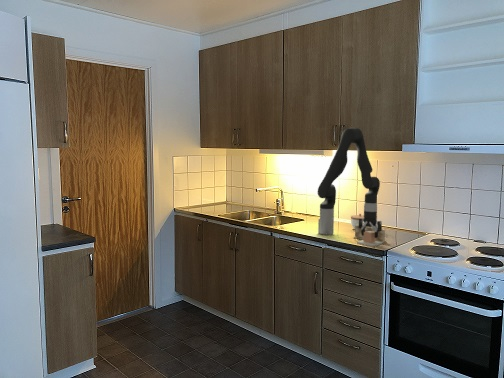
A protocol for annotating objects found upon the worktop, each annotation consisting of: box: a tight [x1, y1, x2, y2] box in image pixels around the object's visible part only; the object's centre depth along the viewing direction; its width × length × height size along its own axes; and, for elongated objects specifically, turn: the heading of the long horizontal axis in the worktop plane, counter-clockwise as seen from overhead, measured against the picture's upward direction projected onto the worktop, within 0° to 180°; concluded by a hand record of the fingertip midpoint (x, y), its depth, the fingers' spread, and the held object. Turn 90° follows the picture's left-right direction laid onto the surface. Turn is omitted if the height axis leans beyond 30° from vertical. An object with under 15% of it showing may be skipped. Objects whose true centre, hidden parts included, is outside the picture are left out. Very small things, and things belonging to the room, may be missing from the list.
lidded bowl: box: [350, 213, 364, 230], centre depth 299 cm, size 13×13×11 cm
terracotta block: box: [364, 231, 375, 243], centre depth 258 cm, size 5×5×6 cm
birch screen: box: [353, 225, 387, 244], centre depth 267 cm, size 20×5×8 cm, turn 44°
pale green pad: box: [356, 239, 383, 247], centre depth 258 cm, size 11×10×1 cm
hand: (369, 236), depth 258 cm, fingers open, 8 cm apart
